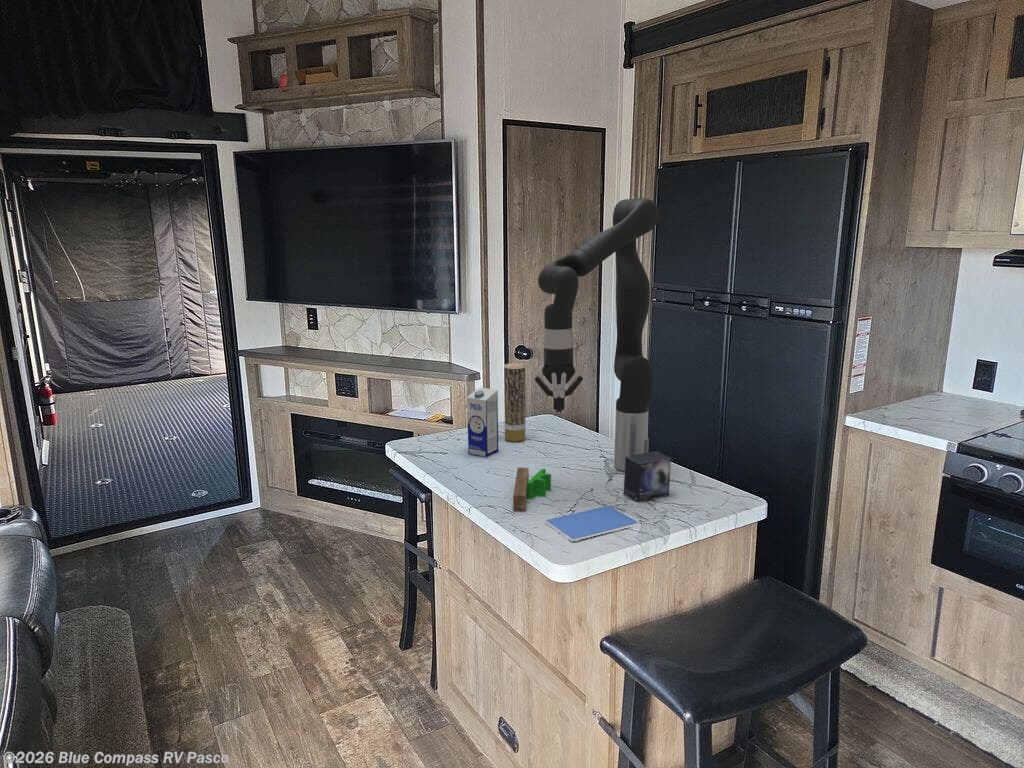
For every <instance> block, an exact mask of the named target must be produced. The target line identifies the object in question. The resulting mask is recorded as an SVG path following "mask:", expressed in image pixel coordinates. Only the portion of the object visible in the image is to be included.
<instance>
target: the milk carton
mask: <svg viewBox="0 0 1024 768" xmlns="http://www.w3.org/2000/svg"><path fill="white" fill-rule="evenodd" d="M498 391H499V390H498V389H494V388H486V387H480V386H479V387H478V388H476V389H474V391H473V392H472V393H470V394H469V395H467V397H466V399H467V401H466V402H467V405H466V406H467V408H466V409H467V447H468V448H467V449H468V455H473V456H477V457H482V458H486V457H487V458H489V457H490V455H491V456H493V455H495V454H497V453H499V403H498V402H499V395H498ZM496 452H497V453H496ZM494 453H495V454H494ZM492 454H493V455H492ZM488 456H489V457H488Z"/></svg>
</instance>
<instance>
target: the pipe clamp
mask: <svg viewBox="0 0 1024 768" xmlns="http://www.w3.org/2000/svg"><path fill="white" fill-rule="evenodd" d="M546 472H547V471H546V468H541V469H540V470H539V471H537V472H536V473H535V474H534V475H533V476H532V477H531V478H530V479H529V481H528V482H527V498H528V500H532V498H534V496H539V497H545V496H546V491H551V490H552V474H551V473H546Z"/></svg>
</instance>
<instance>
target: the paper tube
mask: <svg viewBox="0 0 1024 768" xmlns="http://www.w3.org/2000/svg"><path fill="white" fill-rule="evenodd" d="M503 372H504V373H503V374H504V375H503V376H504V377H503V378H504V379H503V382H504V385H503V386H504V387H503V389H504V391H503V392H504V394H503V395H504V397H503V399H504V400H503V401H504V407H503V408H504V440H505V441H507V442H510V443H511V442H512V443H519V442H518V441H520V442H523V441H525V439H526V365H525V364H524V363H518V362H514V363H513V362H512V363H511V362H510V363H505V364H504V365H503Z"/></svg>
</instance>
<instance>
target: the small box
mask: <svg viewBox="0 0 1024 768" xmlns="http://www.w3.org/2000/svg"><path fill="white" fill-rule="evenodd" d="M671 464H672V457H670V456H668V455H665V454H664V453H662V452H659V451H658V450H654V451H648V453H642V454H637V455H631V456H626V457H625V471H624V477H623V478H624V479H623V480H624V481H623V483H624V484H623V495H624V496H626V497H628V498H630V499H632V500H634V501H635V502H637V503H638V502H642V501H648V500H652V499H657V498H660V497H666V496H669V495H670V482H671V470H672V469H671V467H672V465H671Z"/></svg>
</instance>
